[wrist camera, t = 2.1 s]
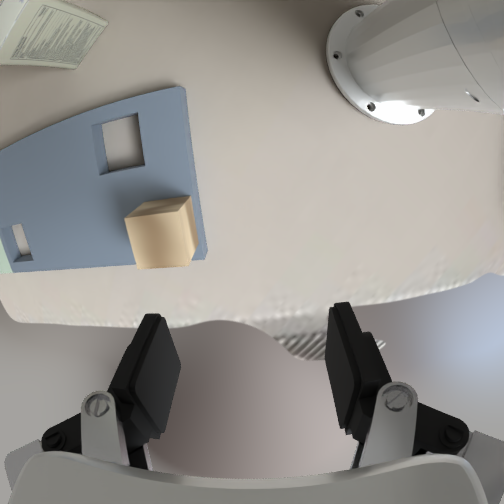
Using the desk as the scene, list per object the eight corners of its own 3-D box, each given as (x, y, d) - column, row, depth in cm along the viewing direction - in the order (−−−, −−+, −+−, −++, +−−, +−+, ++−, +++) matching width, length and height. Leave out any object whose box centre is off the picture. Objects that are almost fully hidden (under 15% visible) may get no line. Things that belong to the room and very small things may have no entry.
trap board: (185, 88, 22) (173, 83, 18) (207, 250, 29) (200, 269, 25) (-26, 168, 24) (-44, 176, 20) (2, 267, 31) (-13, 280, 27)
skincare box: (87, 10, 17) (15, -20, 6) (110, 22, 18) (37, -12, 7) (53, 58, 19) (-27, 50, 8) (74, 73, 20) (-10, 66, 9)
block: (190, 195, 24) (177, 211, 20) (198, 242, 26) (188, 266, 22) (144, 201, 25) (124, 218, 20) (154, 246, 26) (137, 269, 22)
